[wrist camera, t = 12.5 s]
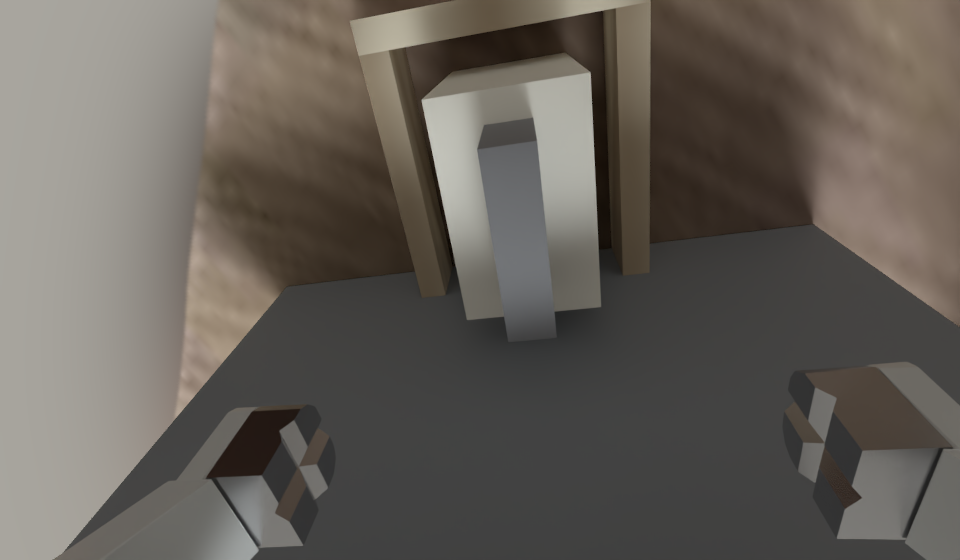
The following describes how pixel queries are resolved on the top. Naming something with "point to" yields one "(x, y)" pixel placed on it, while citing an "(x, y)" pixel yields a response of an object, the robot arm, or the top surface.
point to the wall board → (571, 408)
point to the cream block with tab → (519, 189)
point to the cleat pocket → (484, 8)
